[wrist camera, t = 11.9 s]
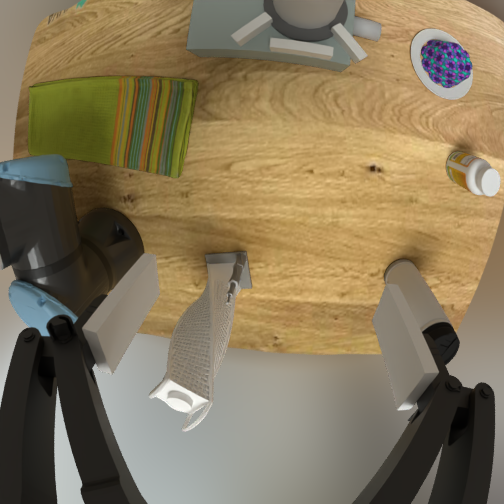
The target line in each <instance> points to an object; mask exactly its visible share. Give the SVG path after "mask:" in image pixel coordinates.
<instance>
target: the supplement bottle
mask: <svg viewBox="0 0 504 504" xmlns="http://www.w3.org/2000/svg"><path fill="white" fill-rule="evenodd" d="M446 171H447V174H448V177H449V178H450V179H451V180H452V181H453V182H454V183H456V184H458V185H460V186H462V187H463V188H465V189H467V190H468V191H470V192H472V193H474V194H476V195H483V194H485V195H486V196H494V195H495V194H496V193H497V192H498V190H499V187H500V176H499V173H498V172H497V171H496V170H495V169H493V168H492V167H491V166H490V164H489V163H488V162H487V161H485V160H483V159H481V158H478V157H475V156H473V155H470V154H467V153H464V152H460V151H457V152H454V153H452V154H451V155H450V156H449V158H448V160H447V164H446Z"/></svg>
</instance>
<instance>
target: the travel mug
mask: <svg viewBox="0 0 504 504" xmlns="http://www.w3.org/2000/svg"><path fill="white" fill-rule="evenodd" d="M384 281H385V284H386V283H387V284H396V285H398V286H399V288H400V290H401V292H402V293H403V295H404V297H405V299H406V301H407V303H408V305H409V307H410V309H411V311H412V313H413V315H414V317H415V319H416V321H417V323H418V326H419V328H420V330H421V332H422V334H428V335H429V336H430V337H431V338H432V339H433V340H434V342H435V344H436V346H437V349H438V350H439V352H440V355H441V357H442V359H443V361H444V364H445V365H446V364H448V363H449V362H450V361H451V360H452V359H453V357H454V356H455V355H456V353H457V351H458V348H459V344H460V342H459V339H458V337H457V335H456V332H455V331H454V329H453V326H452V324H451V323H450V321H449V319H448V317H447V316H446V314H445V312H444V310H443V309H442V307H441V305H440V304H439V302H438V301H437V299H436V297H435V296H434V294H433V292H432V291H431V289H430V288H429V286H428V285H427V283H426V282H425V280H424V278H423V277H422V275H421V274H420V272H419V271H418V269H417V268H416V266H415V265H414V264H413V263H412V262H411V261H409V260H406V259H401V260H397V261H395V262H393V263H392V264H391V265H390V266H389V267H388V268H387V270H386V272H385V275H384Z"/></svg>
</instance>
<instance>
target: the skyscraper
mask: <svg viewBox="0 0 504 504" xmlns="http://www.w3.org/2000/svg"><path fill="white" fill-rule="evenodd" d="M205 258H206V262H207V269H208V282H207V285H206V288H205V290H204V292H203V294H202V295H201V297H199V298H198V299H197V300H196V301H195V302H193V303H192V304H191V305H190V306H189V307H188V308H187V309H186V311H185V312H184V313H183V314H182V316H181V317H180V319H179V320H178V322H177V324H176V326H175V328H174V331H173V334H172V337H171V342H170V347H169V353H168V362H167V372H166V374H165V377H164V378H163V380H162V382H161V383H160V384H159V385H157V387H155V388H154V389H153V390H152V391H151V392H150V394H149V397H150V398H154V397H155V396H156V397H157V398H159V399H161V400H163V401H165V402H166V403H167V404H168V405H169V406H170V407H171V408H173V409H175V410H177V411H181V412H185V413H187V414H188V416H187V418H186V420H185V423H184V425H183V427H182V431H183V432H185V431H188V430H190V429H192V428H194V427H195V426H196V425H198V424H199V423H200V422H201V421H202V419H203V418H204V417H205V416H206V414H207V413H208V411H209V409H210V407H211V406H212V404H213V380H214V378H215V376H216V374H217V372H218V370H219V367H220V365H221V363H222V360H223V358H224V355H225V352H226V349H227V346H228V342H229V339H230V334H231V329H232V324H233V317H234V309H235V298H236V296H237V294H238V293H239V291H240V290H241V289H248V288H252V283H251V277H250V271H249V265H248V259H247V253H246V251H242V252H228V253H214V254H205ZM205 405H207V406H206V408H205V409H204V411H203V413H202V414H201V416H200V417H199V418H198V419H197V420H196V421H195V422H194V423H193V424H192V425H190V426H189V427H187V425H188V423H189V421H190V419H191V416H192V415H193V413H194V412H196V411H197V410H199V409H201V408H202V407H204V406H205Z"/></svg>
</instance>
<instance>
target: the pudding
mask: <svg viewBox="0 0 504 504" xmlns="http://www.w3.org/2000/svg"><path fill="white" fill-rule="evenodd" d="M432 39H437V40H432ZM428 40H430V41H428ZM438 40H441V41H438ZM426 41H428V42H427V46H423V44H424V43H425V42H426ZM422 46H423V47H422ZM421 48H422V49H421ZM420 51H421V54H422V56H423V59H422V64H421V60H420ZM411 59H412V63H413V66H414V69H415V71H416V73H417V75H418V77H419V78H420V80H421V81H422V82H423V84H424V85H425V86H426V87H427V88H428V89H429V90H430V91H432V92H433V93H434V94H436V95H438V96H439V97H442V98H445V99H450V100H454V99H459V98H461V97H463V96H464V95H465V94H467V92H468V91H469V89H470V87H471V85H472V80H473V71H472V63H471V61H470V57H469V54H468V53H467V52H466V51H465V50H464V48H463V47H462V45H461V44H460V43H459V42H458V41H457V40H456V39H455V38H454V37H452V36H451V35H449V34H448V33H446V32H444V31H442V30H438V29H425V30H422V31H420V32H419V33H418V34H417V35H416V36H415V37H414V39H413V41H412V45H411ZM422 66H423V67H422ZM423 68H424V69H423ZM424 70H425V71H427V72H428V73H429V77H430V78H429V77H428V76H427V74H426V73H425V71H424ZM434 82H435V83H440V84H441V85H442V86H443V87H445V88H443V87H441V86H439V85H437V84H435V83H434ZM454 85H457V86H456V87H454V88H451V87H452V86H454Z"/></svg>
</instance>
